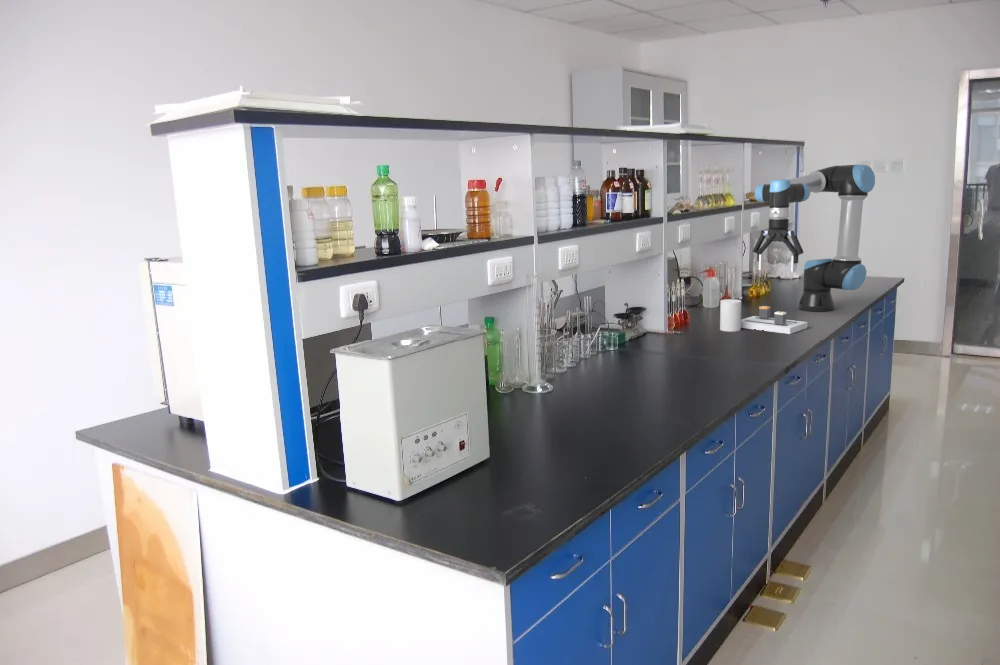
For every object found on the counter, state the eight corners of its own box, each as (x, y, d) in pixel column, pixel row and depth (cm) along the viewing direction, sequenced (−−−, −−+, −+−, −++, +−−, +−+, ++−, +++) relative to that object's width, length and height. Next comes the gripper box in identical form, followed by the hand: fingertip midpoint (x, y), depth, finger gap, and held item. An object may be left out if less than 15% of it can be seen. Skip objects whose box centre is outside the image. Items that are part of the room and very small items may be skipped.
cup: (738, 327, 307) (738, 299, 305) (742, 331, 299) (743, 302, 297) (718, 327, 308) (718, 299, 306) (722, 331, 300) (722, 302, 298)
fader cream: (777, 322, 299) (777, 311, 298) (786, 323, 296) (786, 312, 295) (774, 323, 297) (774, 312, 296) (782, 324, 294) (783, 313, 293)
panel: (753, 321, 318) (753, 315, 317) (807, 327, 300) (807, 321, 300) (735, 327, 308) (735, 320, 308) (789, 334, 291) (790, 327, 290)
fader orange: (762, 316, 312) (762, 305, 311) (770, 317, 310) (770, 306, 309) (758, 317, 310) (759, 306, 309) (766, 318, 308) (767, 307, 307)
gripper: (745, 218, 302) (744, 270, 307) (805, 219, 285) (803, 273, 289) (754, 217, 307) (752, 268, 312) (813, 217, 290) (811, 271, 294)
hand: (776, 270), depth 300 cm, fingers open, 13 cm apart
